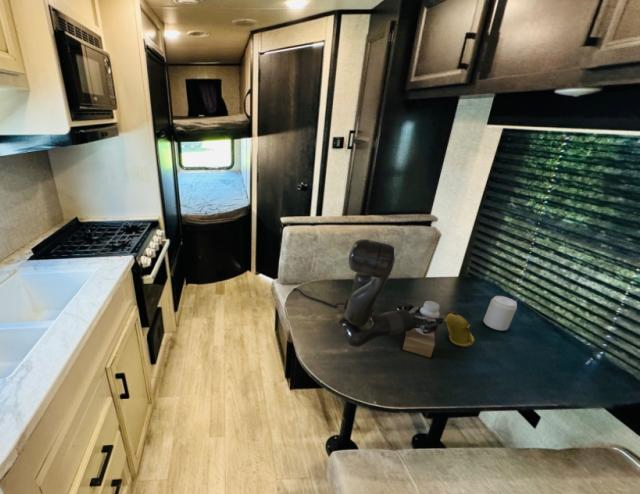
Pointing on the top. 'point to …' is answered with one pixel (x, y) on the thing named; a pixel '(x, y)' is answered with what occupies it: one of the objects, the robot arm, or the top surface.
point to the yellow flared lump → (459, 330)
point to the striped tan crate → (419, 343)
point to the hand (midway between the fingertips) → (434, 314)
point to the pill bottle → (429, 313)
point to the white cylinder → (500, 313)
